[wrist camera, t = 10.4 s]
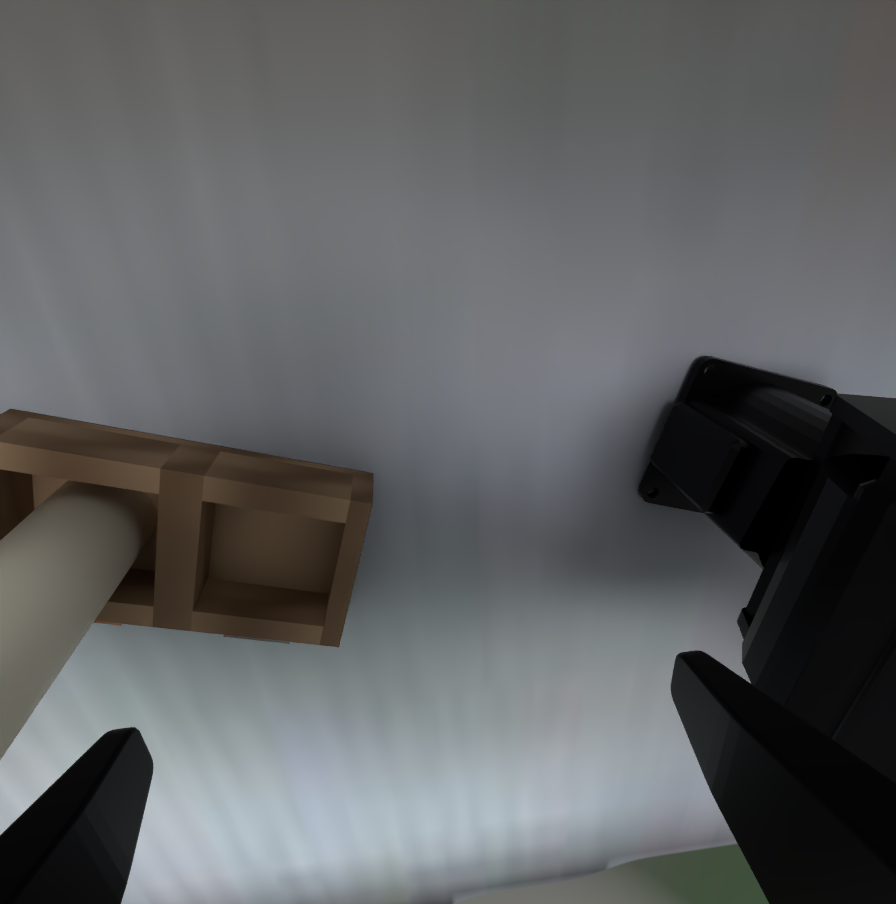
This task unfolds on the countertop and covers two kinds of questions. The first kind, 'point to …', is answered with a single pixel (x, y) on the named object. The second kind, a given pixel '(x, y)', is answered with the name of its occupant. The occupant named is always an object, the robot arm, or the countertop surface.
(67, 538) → the cream and grey cylinder
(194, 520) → the compartment box
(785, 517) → the robot arm
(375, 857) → the countertop surface
